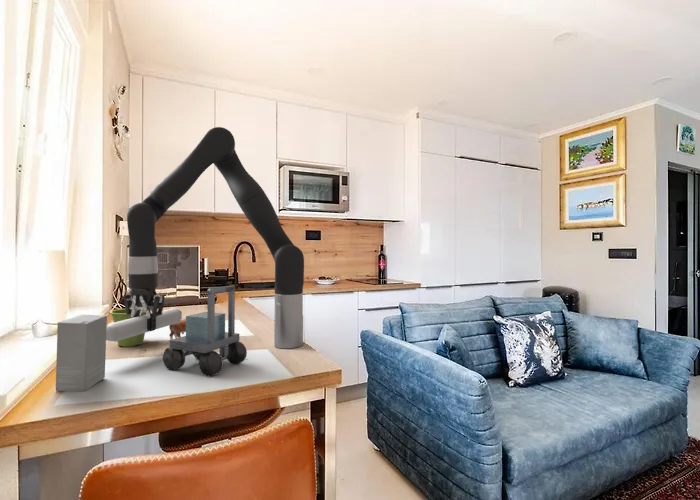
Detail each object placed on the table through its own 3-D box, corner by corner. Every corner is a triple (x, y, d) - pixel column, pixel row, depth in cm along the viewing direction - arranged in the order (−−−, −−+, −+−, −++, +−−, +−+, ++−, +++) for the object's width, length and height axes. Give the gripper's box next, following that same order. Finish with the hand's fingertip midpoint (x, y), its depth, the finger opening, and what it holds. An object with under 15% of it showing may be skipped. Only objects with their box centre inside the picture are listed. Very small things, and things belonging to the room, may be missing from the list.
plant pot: (156, 344, 120) (156, 310, 120) (115, 351, 112) (115, 314, 112) (144, 337, 128) (144, 306, 128) (105, 344, 120) (105, 310, 120)
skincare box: (78, 379, 88) (78, 314, 88) (109, 378, 89) (109, 313, 89) (52, 393, 80) (52, 321, 80) (87, 392, 80) (87, 320, 80)
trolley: (197, 356, 107) (197, 282, 107) (248, 363, 101) (248, 285, 101) (160, 369, 95) (160, 286, 95) (216, 378, 89) (216, 290, 89)
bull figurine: (207, 336, 132) (207, 313, 132) (172, 344, 120) (172, 319, 120) (200, 334, 134) (200, 312, 134) (165, 342, 123) (165, 318, 123)
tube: (116, 328, 93) (183, 310, 117) (100, 321, 94) (170, 304, 119) (111, 347, 94) (179, 325, 118) (96, 340, 95) (166, 320, 119)
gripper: (172, 271, 107) (173, 329, 107) (136, 270, 112) (137, 325, 112) (150, 273, 100) (151, 335, 100) (113, 272, 105) (114, 331, 105)
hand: (144, 329), depth 106 cm, fingers closed on tube, 5 cm apart
